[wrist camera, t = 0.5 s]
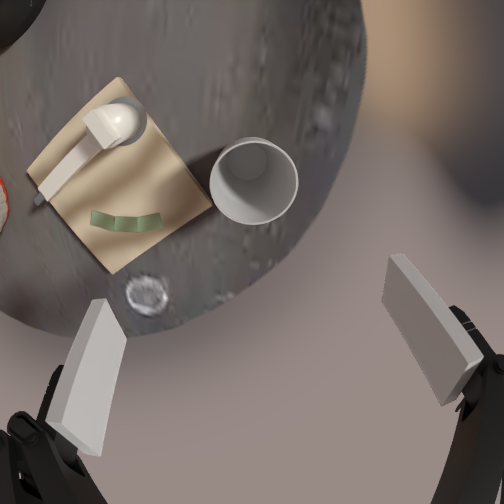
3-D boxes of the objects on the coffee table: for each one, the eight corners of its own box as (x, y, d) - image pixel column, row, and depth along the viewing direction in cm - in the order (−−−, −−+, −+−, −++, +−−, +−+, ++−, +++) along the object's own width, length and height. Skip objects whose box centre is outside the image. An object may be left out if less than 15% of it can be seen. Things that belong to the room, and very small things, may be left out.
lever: (126, 94, 28) (102, 96, 22) (148, 124, 31) (129, 132, 24) (39, 180, 32) (10, 199, 26) (58, 205, 34) (32, 228, 28)
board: (32, 167, 33) (25, 171, 31) (124, 75, 29) (119, 74, 27) (115, 268, 42) (111, 275, 40) (215, 199, 38) (215, 204, 36)
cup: (257, 203, 39) (267, 238, 30) (202, 172, 36) (194, 200, 27) (292, 150, 36) (314, 170, 27) (236, 116, 33) (239, 123, 24)
